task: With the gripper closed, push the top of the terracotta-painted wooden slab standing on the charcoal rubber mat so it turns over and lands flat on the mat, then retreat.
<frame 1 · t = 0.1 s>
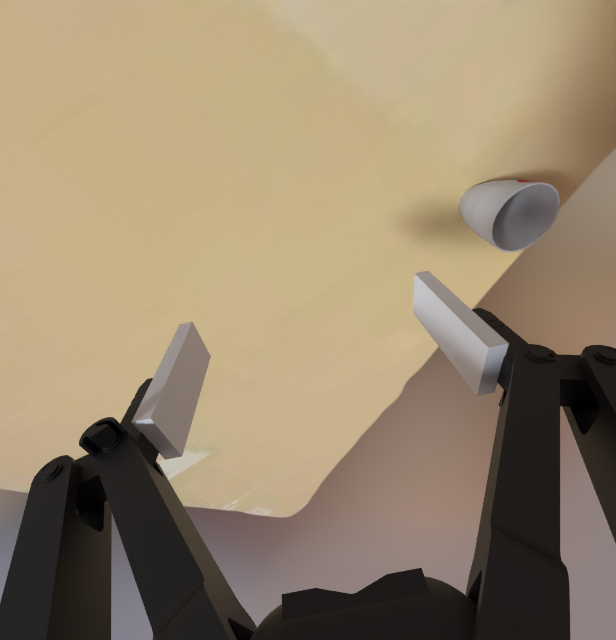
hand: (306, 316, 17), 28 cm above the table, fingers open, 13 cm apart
cup: (474, 202, 42), on the table
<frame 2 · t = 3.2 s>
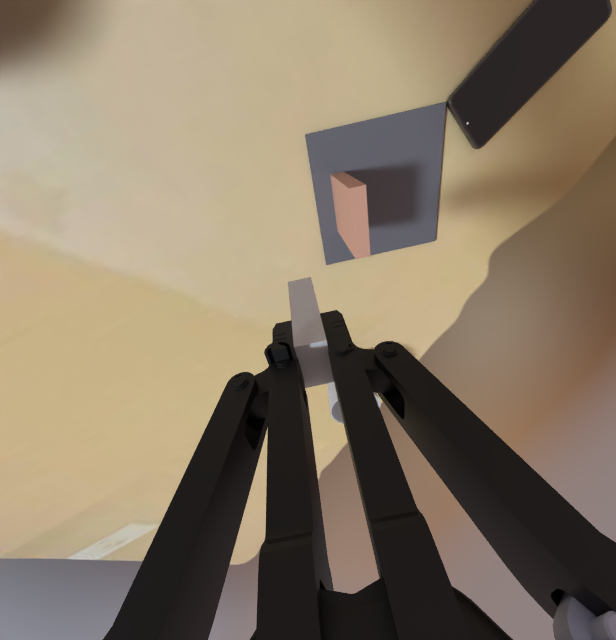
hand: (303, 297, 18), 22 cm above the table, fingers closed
cup: (342, 364, 53), on the table
mat: (377, 193, 36), on the table
slab: (340, 202, 36), resting on mat
smartphone: (519, 61, 30), on the table
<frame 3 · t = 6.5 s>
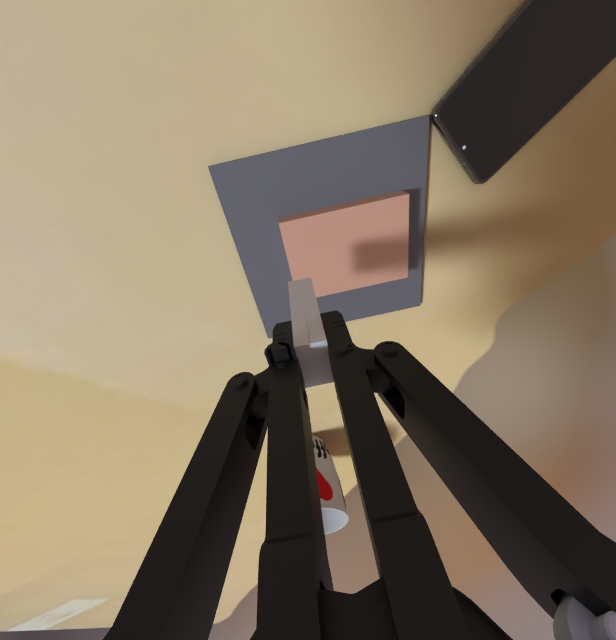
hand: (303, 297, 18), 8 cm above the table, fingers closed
cup: (306, 444, 41), on the table
mat: (332, 246, 24), on the table
slab: (288, 262, 24), point 1 cm above the table, tilted 90°, touching mat
smartphone: (546, 49, 19), on the table
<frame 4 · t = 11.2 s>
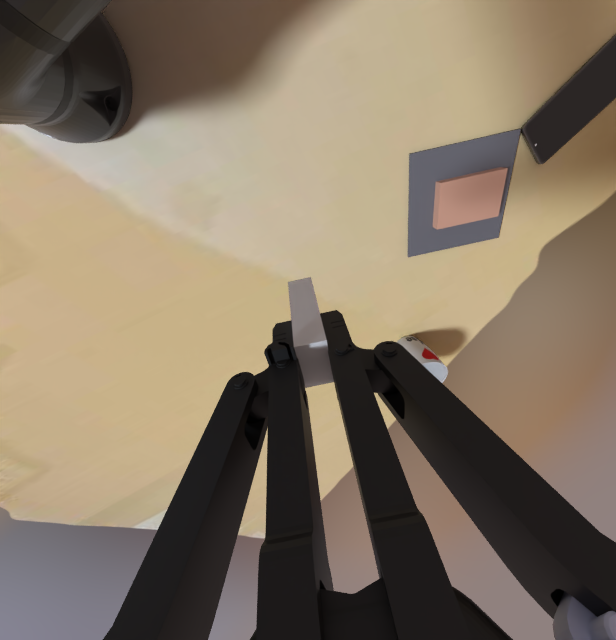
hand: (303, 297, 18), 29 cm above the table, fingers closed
cup: (405, 344, 62), on the table
mat: (457, 199, 45), on the table
slab: (436, 206, 44), point 1 cm above the table, tilted 90°, touching mat
smartphone: (578, 97, 39), on the table
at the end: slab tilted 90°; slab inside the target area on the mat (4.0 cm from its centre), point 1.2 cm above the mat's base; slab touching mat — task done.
